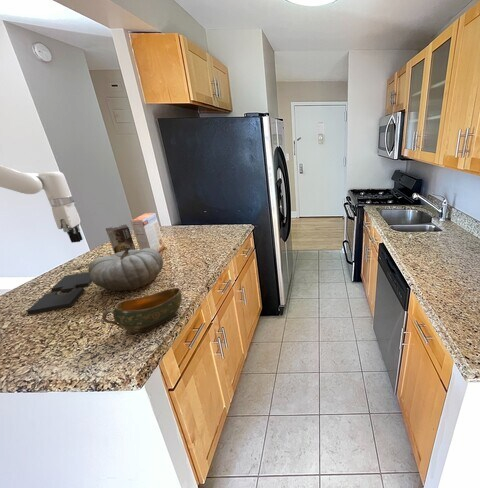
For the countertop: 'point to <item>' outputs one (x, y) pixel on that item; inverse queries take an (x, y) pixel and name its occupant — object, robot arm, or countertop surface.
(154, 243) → the cracker box
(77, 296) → the base pad
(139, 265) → the gourd
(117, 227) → the coffee box
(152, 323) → the green gravy boat
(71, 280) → the pad
